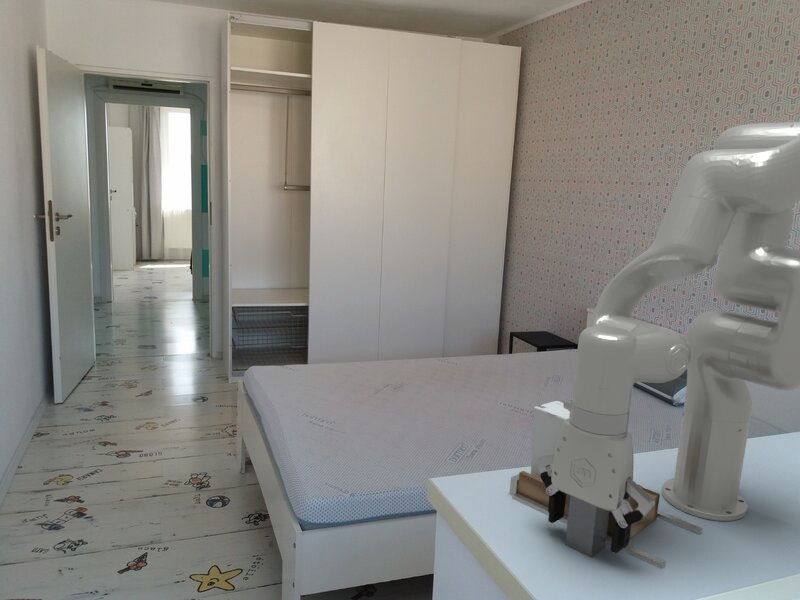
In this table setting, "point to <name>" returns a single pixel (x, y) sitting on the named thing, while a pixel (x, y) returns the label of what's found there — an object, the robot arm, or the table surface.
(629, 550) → the rail
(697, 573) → the table surface
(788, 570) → the table surface
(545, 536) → the table surface
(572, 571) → the table surface
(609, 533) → the cradle
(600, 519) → the gray rectangular block
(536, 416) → the skincare box
